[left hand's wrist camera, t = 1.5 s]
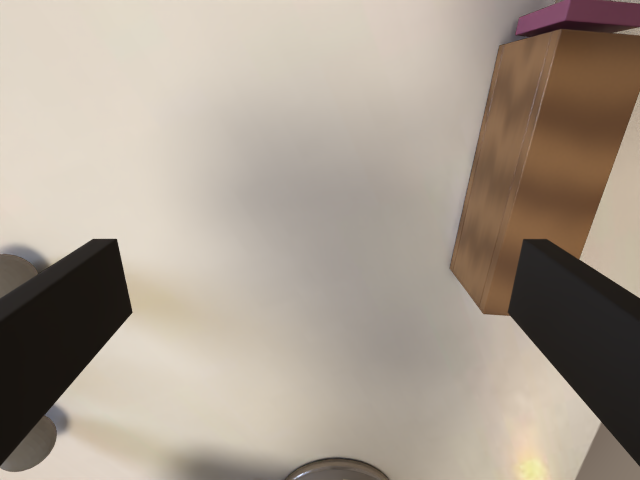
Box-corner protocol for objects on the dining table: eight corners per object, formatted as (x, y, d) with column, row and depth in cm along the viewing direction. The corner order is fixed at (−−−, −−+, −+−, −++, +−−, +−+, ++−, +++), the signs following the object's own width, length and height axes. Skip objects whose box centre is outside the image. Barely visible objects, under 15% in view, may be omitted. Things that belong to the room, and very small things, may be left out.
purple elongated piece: (540, -77, 26) (604, -127, 20) (607, -71, 26) (690, -119, 20) (465, 244, 34) (494, 274, 29) (515, 247, 34) (555, 278, 29)
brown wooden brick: (499, 45, 29) (561, 28, 22) (572, 51, 29) (659, 37, 22) (449, 268, 36) (483, 314, 29) (509, 272, 36) (558, 319, 29)
